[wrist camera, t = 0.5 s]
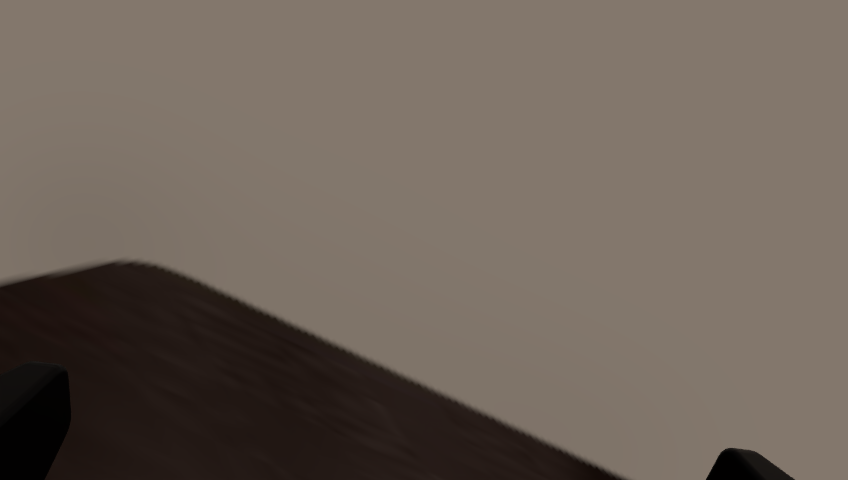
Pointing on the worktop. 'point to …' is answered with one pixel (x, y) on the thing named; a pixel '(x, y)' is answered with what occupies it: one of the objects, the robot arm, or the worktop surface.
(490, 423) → the worktop surface
